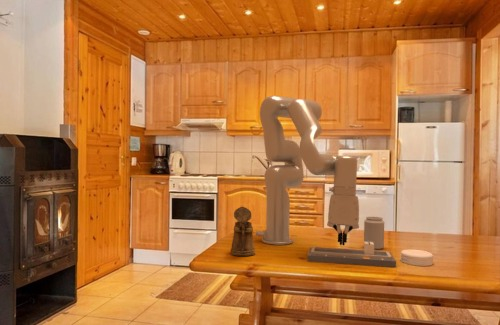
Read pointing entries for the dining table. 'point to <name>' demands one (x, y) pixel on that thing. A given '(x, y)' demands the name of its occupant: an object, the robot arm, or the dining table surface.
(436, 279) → the dining table surface
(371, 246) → the cap
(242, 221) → the brown bell figurine
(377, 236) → the can
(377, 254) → the dark grey tray
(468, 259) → the dining table surface
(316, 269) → the dining table surface
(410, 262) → the white cheese wheel
